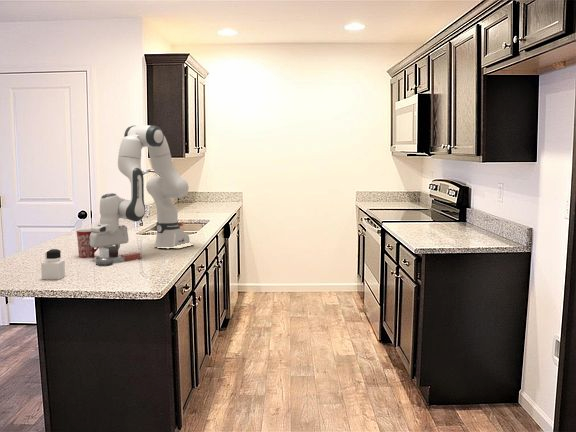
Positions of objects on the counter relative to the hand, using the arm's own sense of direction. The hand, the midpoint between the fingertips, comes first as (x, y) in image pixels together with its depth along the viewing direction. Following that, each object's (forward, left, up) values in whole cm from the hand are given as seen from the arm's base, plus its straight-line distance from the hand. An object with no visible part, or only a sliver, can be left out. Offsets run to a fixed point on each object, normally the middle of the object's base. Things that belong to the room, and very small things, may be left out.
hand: (109, 254), depth 277 cm
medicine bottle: (+40, +18, -2) cm, 44 cm away
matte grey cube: (0, 0, -2) cm, 2 cm away
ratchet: (+2, +10, -2) cm, 10 cm away
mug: (+4, -11, -2) cm, 12 cm away
